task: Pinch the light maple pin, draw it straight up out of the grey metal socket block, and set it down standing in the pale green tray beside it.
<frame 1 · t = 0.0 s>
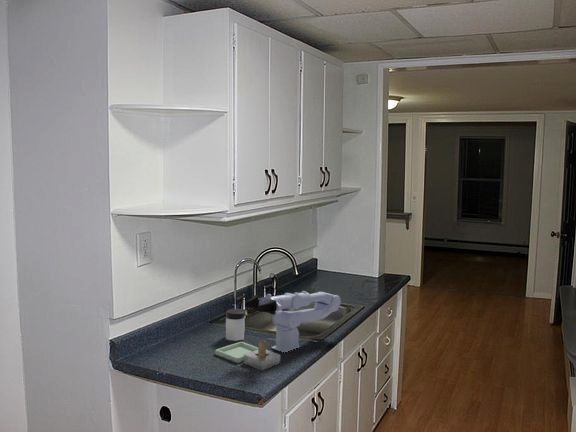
hand: (252, 306, 217), 22 cm above the worktop, tool horizontal, fingers open, 7 cm apart
socket block: (261, 363, 217), on the worktop
tray: (239, 354, 225), on the worktop
pin: (262, 352, 216), in the socket block
jar: (235, 338, 245), on the worktop
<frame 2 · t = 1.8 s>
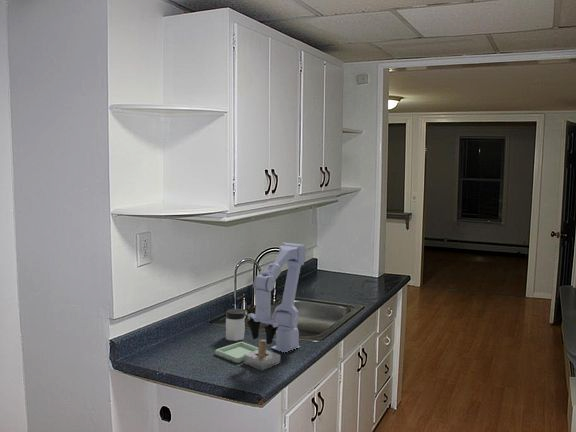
hand: (262, 341, 215), 9 cm above the worktop, tool pointing down, fingers open, 7 cm apart
nothing on the worktop moved.
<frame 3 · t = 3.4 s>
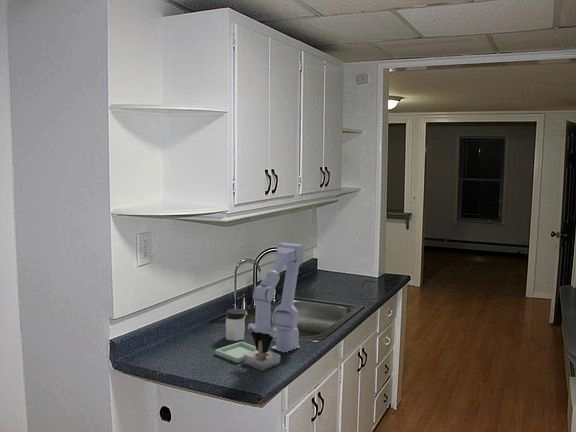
hand: (262, 351, 216), 5 cm above the worktop, tool pointing down, fingers closed on pin, 3 cm apart
pin: (262, 352, 216), in the socket block, touching gripper
everything else where it was.
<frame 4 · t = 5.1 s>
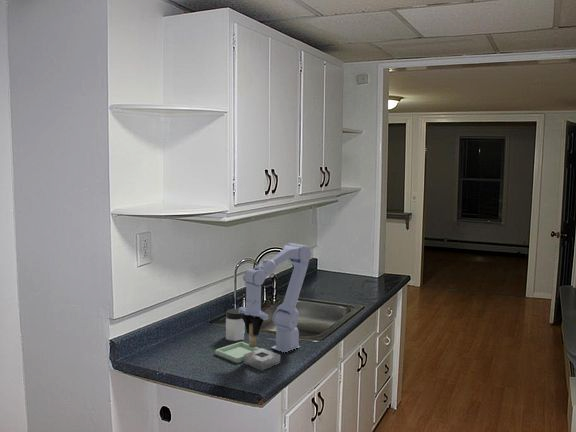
hand: (252, 334, 219), 10 cm above the worktop, tool pointing down, fingers closed on pin, 3 cm apart
pin: (252, 335, 219), point 10 cm above the worktop, touching gripper
everything else where it was.
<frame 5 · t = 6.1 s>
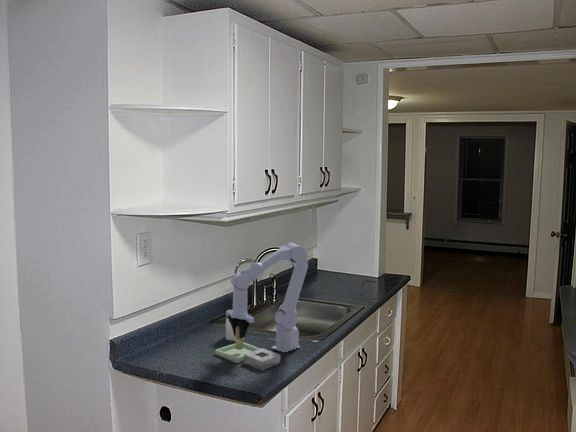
hand: (239, 336, 224), 7 cm above the worktop, tool pointing down, fingers closed on pin, 3 cm apart
pin: (239, 337, 224), point 7 cm above the worktop, touching gripper
everything else where it was.
when the fingers open (6 cm above the worktop, at t = 7.0 s): pin stays where it is, resting on tray.
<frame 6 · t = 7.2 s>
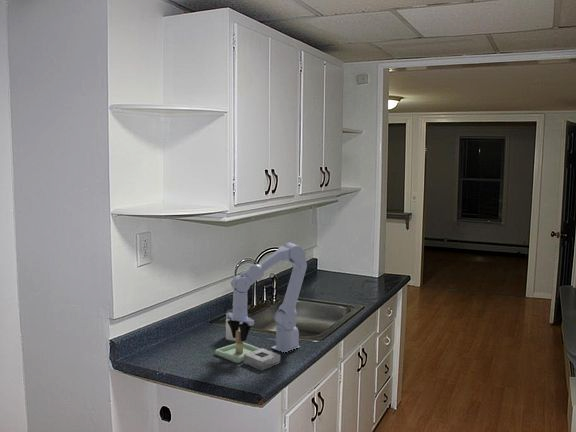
hand: (239, 339, 225), 6 cm above the worktop, tool pointing down, fingers open, 4 cm apart
pin: (239, 342, 225), in the tray, point 5 cm above the worktop
everything else where it was.
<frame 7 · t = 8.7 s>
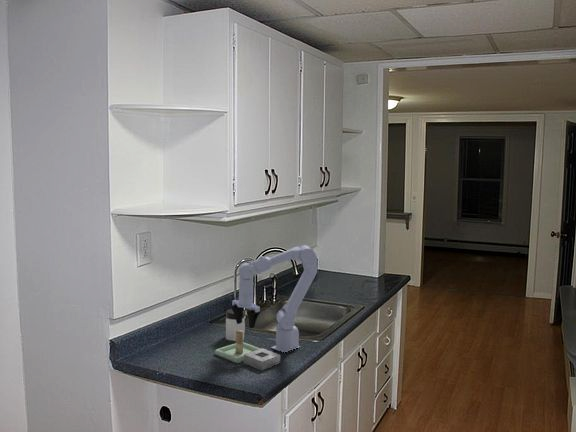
hand: (245, 325, 229), 10 cm above the worktop, tool pointing down, fingers open, 7 cm apart
nothing on the worktop moved.
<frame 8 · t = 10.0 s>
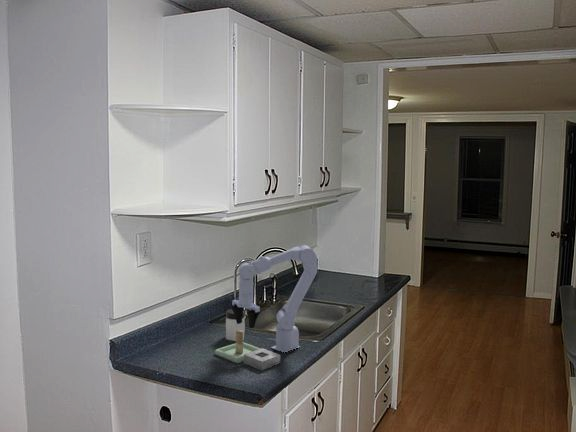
hand: (245, 325, 229), 10 cm above the worktop, tool pointing down, fingers open, 7 cm apart
nothing on the worktop moved.
at the end: pin inside the target area on the tray (0.1 cm from its centre), point 5.1 cm above the tray's base; the gripper is holding nothing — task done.
